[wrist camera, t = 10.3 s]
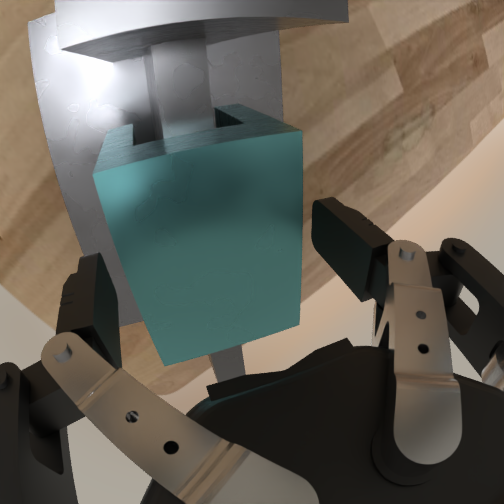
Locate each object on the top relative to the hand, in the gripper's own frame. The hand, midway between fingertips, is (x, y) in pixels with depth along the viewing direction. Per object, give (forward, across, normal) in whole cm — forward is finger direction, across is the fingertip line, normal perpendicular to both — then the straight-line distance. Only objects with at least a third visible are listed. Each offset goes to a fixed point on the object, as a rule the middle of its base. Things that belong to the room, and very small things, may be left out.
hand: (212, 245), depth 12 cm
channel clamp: (+4, 0, 0) cm, 5 cm away
